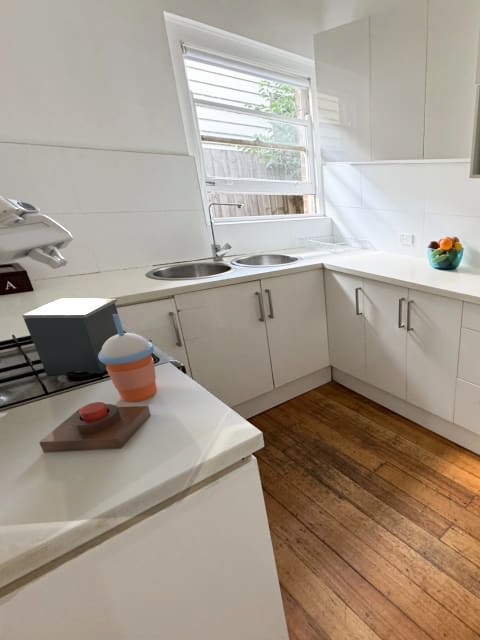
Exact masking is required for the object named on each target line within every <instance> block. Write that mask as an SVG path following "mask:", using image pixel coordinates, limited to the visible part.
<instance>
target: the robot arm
mask: <svg viewBox="0 0 480 640" xmlns="http://www.w3.org/2000/svg"><path fill="white" fill-rule="evenodd" d="M40 211H41V210H40V208H39V207H38V206H36V205H35V204H33V203H30V202H24V201H18V200H15V199H11V198H9V197H5V196H4V197H3V196H2V195H0V264H5V263H9V262H12V261H13V262H14V261H17V260H20V259H25V258H31V259H32V260H34V261H36V262H38V263H42V264H45V265H47V266H48V267H50V268H52V269H54V270H56V269H59V268H62V267H66V265H67V264H68V263H69V261H68V260H67V259H66V258H65V257H63V256H62V255H61V253H60V252H59V250H62V249H66V248H67V247H68V246H69V245H70V244H71V243H72V241H73V240H74V237H73V235H72V234H71V233H70V231H68V230H67V229H66V228H64V227H63V226H62V225H60V224H59V223H58V222H57V221H55V220H53V218H51V217H50V216H48V215H46V214H43V213H40Z"/></svg>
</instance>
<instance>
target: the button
mask: <svg viewBox="0 0 480 640" xmlns="http://www.w3.org/2000/svg"><path fill="white" fill-rule="evenodd" d="M105 404H106V403H105V402H102V401H96V402H91V403H88V404H85V405H84V406H82V407H80V408H81V409H80V408H79V409H80V410H79V409H78V410H79V413H80V415H81V418H82V420H83V421H92V420H96V419H99V418H101V417H103V416H105V415H106V414H107V413H108V411H107V408H106V405H105Z"/></svg>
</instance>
